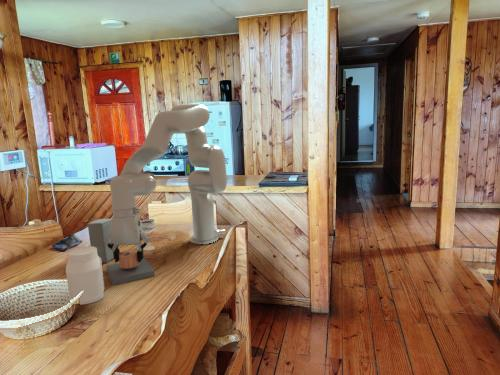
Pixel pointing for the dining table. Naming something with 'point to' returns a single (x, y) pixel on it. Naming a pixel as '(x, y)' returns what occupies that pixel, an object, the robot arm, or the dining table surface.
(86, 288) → the jar
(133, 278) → the post stand
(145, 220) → the wineglass
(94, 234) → the skincare box
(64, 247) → the snack package
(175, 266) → the dining table surface
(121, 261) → the orange dial knob
